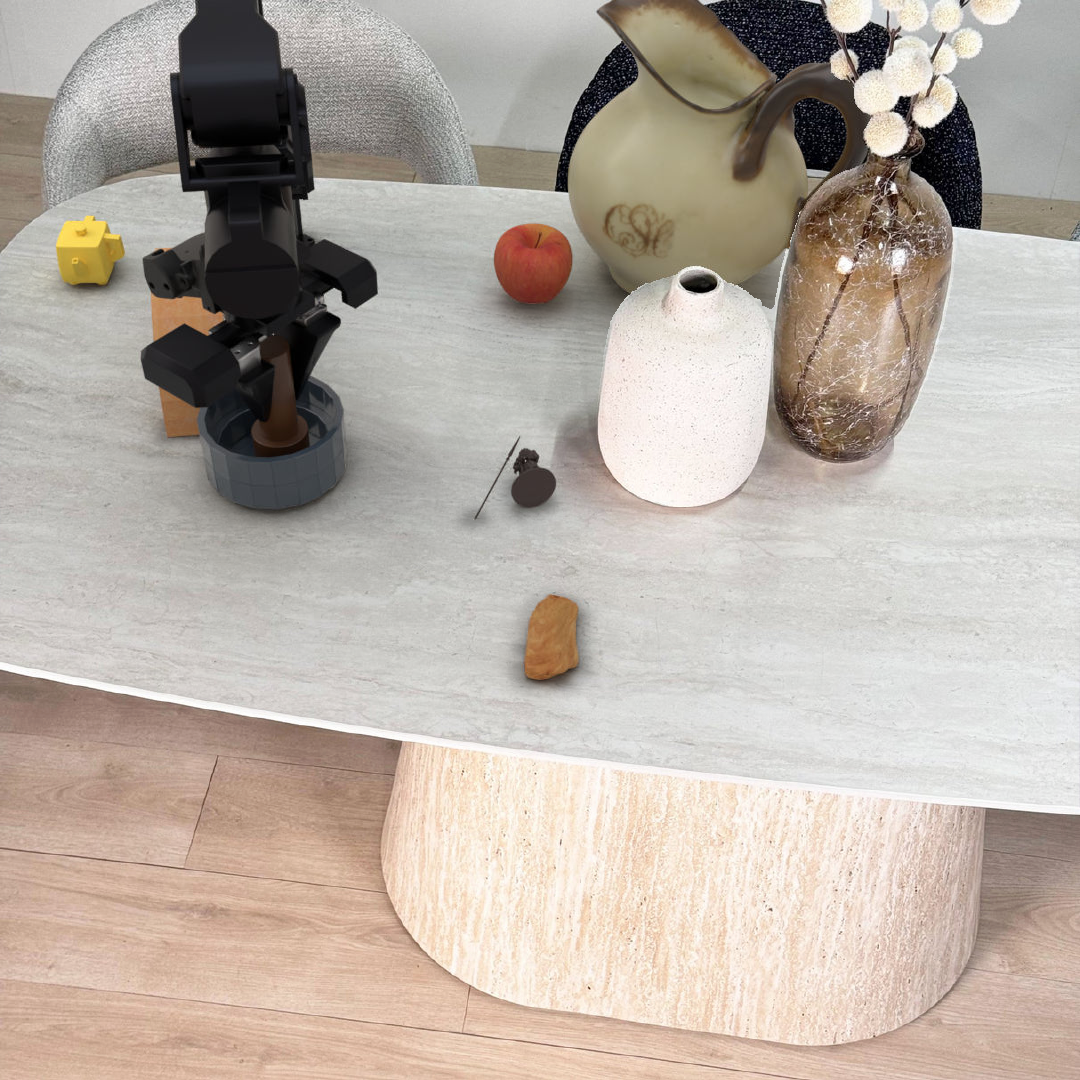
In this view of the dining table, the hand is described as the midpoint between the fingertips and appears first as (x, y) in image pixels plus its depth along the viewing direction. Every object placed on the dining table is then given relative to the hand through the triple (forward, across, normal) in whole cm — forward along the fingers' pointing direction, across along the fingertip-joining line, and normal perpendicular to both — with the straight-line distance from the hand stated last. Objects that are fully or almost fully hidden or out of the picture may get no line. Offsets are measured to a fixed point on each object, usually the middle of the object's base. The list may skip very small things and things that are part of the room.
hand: (277, 408), depth 98 cm
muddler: (+5, 0, 0) cm, 5 cm away
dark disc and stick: (+4, -9, +18) cm, 20 cm away
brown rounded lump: (+5, +2, +25) cm, 26 cm away
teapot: (+7, -9, -33) cm, 35 cm away
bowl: (+6, 0, -1) cm, 6 cm away
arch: (+7, -6, -16) cm, 18 cm away
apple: (+6, -32, +1) cm, 33 cm away
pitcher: (+7, -45, +10) cm, 47 cm away
